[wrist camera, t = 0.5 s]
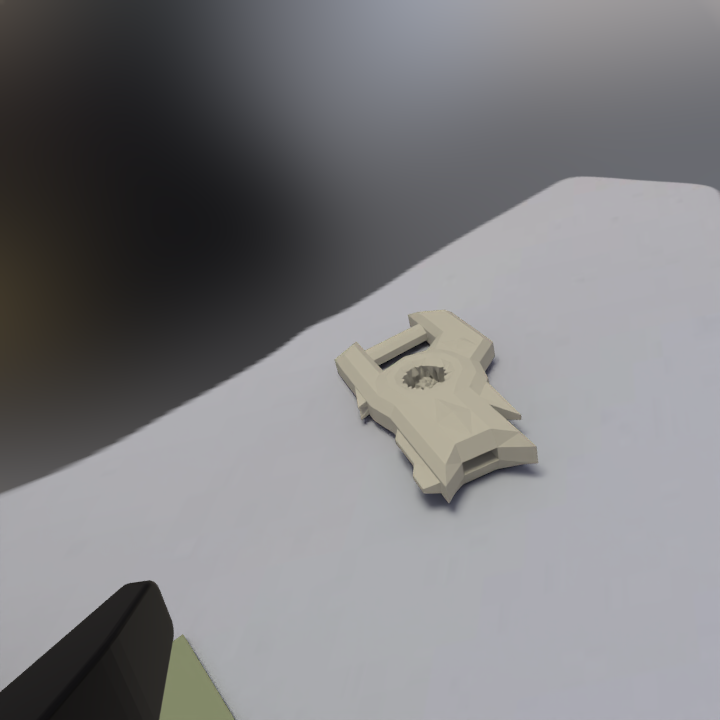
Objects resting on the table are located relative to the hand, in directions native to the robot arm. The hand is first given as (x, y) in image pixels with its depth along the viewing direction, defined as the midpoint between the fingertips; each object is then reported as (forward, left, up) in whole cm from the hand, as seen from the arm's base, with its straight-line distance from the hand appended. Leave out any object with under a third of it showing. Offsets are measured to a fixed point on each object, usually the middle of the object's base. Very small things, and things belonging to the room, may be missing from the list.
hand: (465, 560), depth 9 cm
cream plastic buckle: (+25, +6, -17) cm, 31 cm away
